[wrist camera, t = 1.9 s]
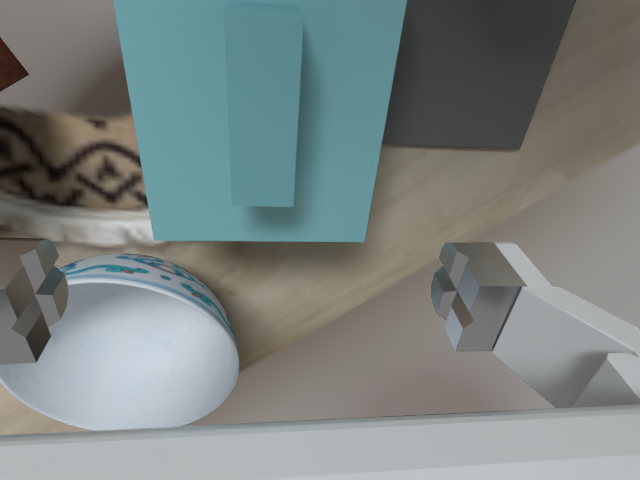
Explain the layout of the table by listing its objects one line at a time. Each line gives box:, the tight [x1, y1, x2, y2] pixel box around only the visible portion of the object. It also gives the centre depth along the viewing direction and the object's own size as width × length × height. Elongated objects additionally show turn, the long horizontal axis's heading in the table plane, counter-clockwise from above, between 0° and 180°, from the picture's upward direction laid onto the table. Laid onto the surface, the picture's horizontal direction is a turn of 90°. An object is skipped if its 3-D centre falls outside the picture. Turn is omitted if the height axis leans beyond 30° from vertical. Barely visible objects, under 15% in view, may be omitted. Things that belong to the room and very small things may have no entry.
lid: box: [113, 0, 407, 242], centre depth 18 cm, size 15×11×6 cm
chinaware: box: [0, 254, 239, 431], centre depth 31 cm, size 15×15×8 cm
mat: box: [382, 0, 576, 149], centre depth 25 cm, size 12×11×1 cm
